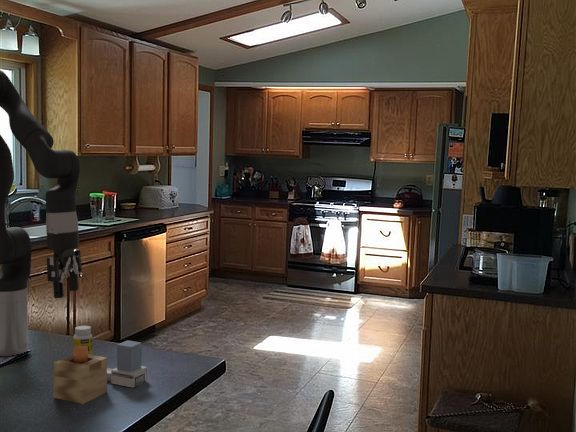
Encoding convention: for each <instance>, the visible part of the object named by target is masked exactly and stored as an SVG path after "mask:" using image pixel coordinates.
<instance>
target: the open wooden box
mask: <svg viewBox="0 0 576 432" xmlns="http://www.w3.org/2000/svg"><path fill="white" fill-rule="evenodd" d="M107 368H108V357H106V356H105V357H104V356H100V355H93V354H92V355H90V354H88V361H87V362H84V363H75V362H74V355H73V354H71V355H68V356H66V357H64V358H62V359H59V360H57V361H54V362H53V398H54V399H58V400H63V401H67V402H71V403H76V404H81V405H85V404H87V403H89V402H90V401H92V400H94V399H97V398H98V397H100V396H102V395H104V394H106V393H107V392H108V381H107Z"/></svg>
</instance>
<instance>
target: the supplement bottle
mask: <svg viewBox="0 0 576 432" xmlns="http://www.w3.org/2000/svg"><path fill="white" fill-rule="evenodd" d="M91 333H92V326H90V325H79V326H76V327H75V328H74V335H73V339H72V340H73V342H72V343H73V344H72V345H73V348H72V352H73V354H72V355H74V347H76V346H87V347H88V354H90V355H93V334H91Z"/></svg>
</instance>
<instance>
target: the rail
mask: <svg viewBox="0 0 576 432" xmlns="http://www.w3.org/2000/svg"><path fill="white" fill-rule="evenodd" d="M112 369H113V368H109V367H107V383H111V370H112ZM144 382H145V381H144V375H140V376H138V377H136V378H135V388H137V387H139V386H140V385H143V384H144Z"/></svg>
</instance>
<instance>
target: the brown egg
mask: <svg viewBox="0 0 576 432" xmlns="http://www.w3.org/2000/svg"><path fill="white" fill-rule="evenodd" d="M87 361H88V347H87V346H76V347H74V362H75V363H84V362H87Z"/></svg>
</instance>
